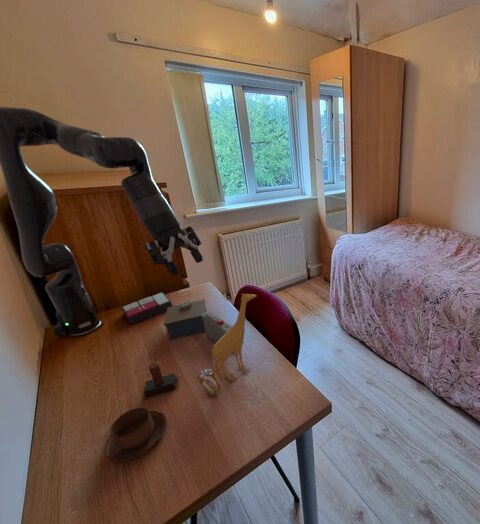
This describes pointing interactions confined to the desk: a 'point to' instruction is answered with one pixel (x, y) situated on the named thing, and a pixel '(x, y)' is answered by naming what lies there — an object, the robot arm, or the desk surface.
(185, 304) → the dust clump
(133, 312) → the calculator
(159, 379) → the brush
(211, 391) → the ring
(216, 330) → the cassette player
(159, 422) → the brown fedora hat
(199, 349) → the desk surface
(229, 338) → the giraffe
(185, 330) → the grey storage box
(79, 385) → the desk surface
